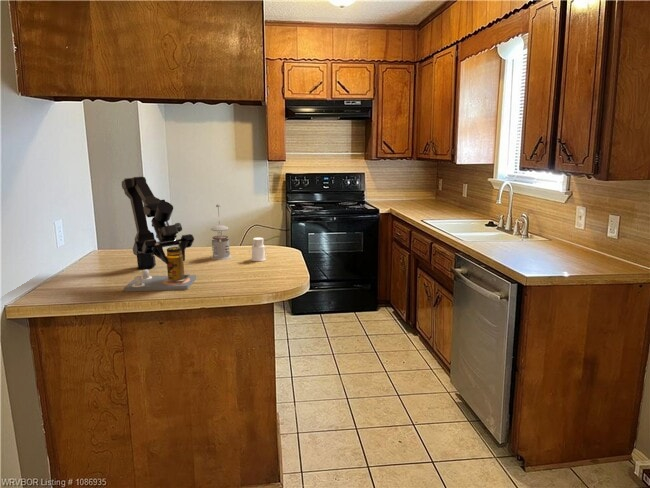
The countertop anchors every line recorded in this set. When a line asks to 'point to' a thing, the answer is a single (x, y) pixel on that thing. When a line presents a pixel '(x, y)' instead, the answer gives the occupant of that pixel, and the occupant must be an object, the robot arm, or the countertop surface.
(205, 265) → the countertop surface
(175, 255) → the condiment
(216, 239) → the french press
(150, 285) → the board
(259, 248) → the downlight
